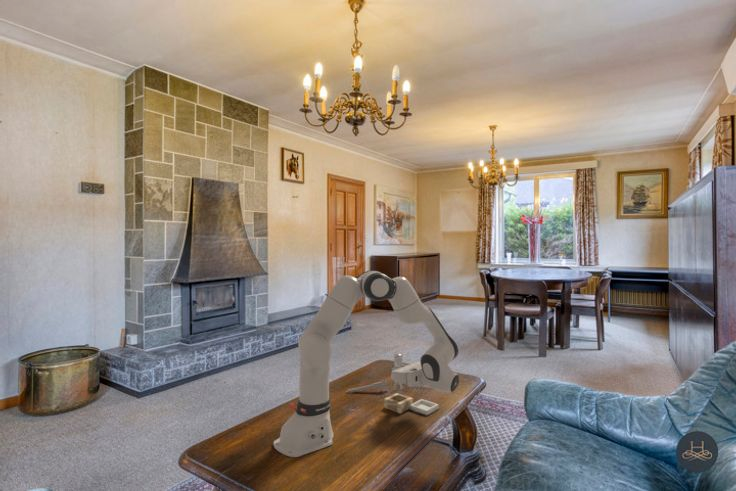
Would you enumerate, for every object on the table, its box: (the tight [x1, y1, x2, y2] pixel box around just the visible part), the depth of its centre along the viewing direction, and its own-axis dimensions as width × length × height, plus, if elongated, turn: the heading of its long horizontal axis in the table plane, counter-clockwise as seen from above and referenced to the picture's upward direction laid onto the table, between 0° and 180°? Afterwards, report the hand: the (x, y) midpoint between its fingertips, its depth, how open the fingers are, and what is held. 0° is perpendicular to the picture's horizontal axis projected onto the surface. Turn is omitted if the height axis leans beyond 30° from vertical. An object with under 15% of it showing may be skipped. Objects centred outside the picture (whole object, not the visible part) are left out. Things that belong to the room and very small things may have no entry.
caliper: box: [345, 379, 388, 394], centre depth 192 cm, size 20×1×6 cm, turn 94°
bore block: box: [383, 392, 414, 414], centre depth 174 cm, size 9×9×4 cm
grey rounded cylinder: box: [393, 352, 403, 391], centre depth 173 cm, size 4×4×15 cm
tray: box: [409, 398, 440, 417], centre depth 172 cm, size 9×9×2 cm
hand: (396, 367), depth 174 cm, fingers closed on grey rounded cylinder, 4 cm apart
